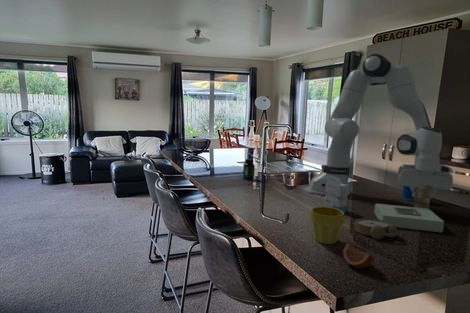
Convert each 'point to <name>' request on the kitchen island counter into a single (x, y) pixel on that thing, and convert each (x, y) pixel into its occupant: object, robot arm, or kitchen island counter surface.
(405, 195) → the beverage can
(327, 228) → the plant pot
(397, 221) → the board
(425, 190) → the leg
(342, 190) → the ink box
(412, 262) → the kitchen island counter surface
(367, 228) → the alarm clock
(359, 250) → the fruit slice
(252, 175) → the supplement bottle
